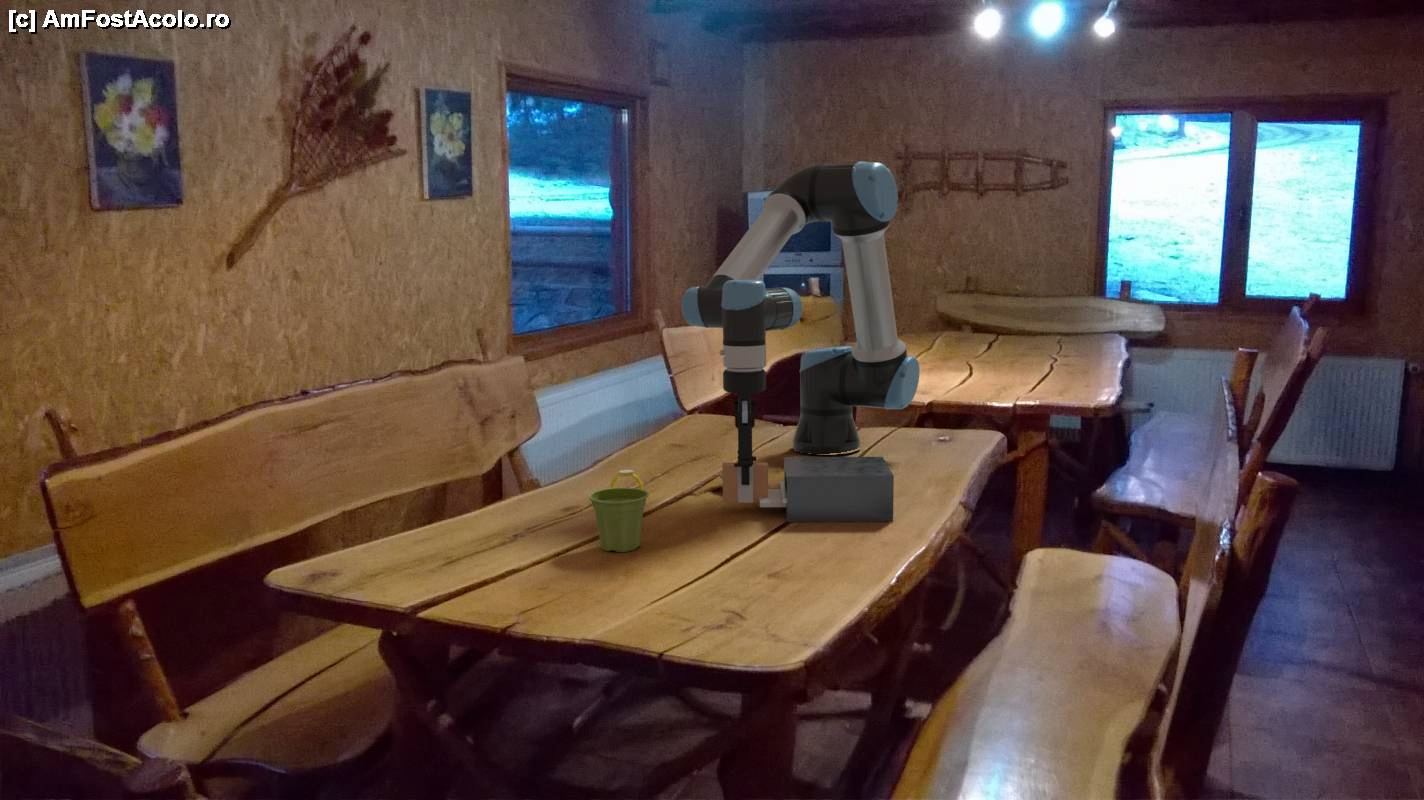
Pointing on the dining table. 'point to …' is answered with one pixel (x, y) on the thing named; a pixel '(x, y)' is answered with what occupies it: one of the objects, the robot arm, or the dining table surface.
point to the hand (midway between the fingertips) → (745, 499)
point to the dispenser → (837, 489)
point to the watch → (628, 473)
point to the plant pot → (619, 517)
